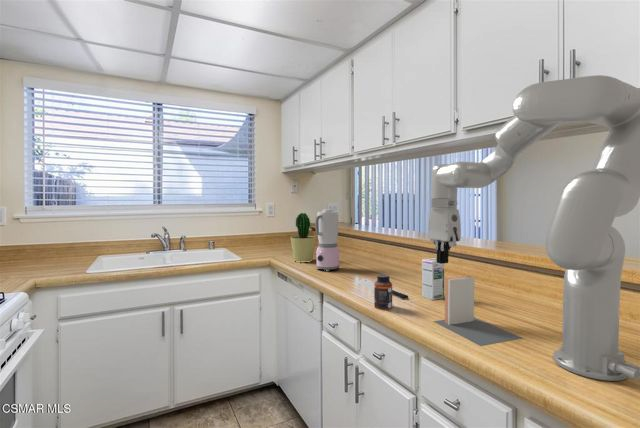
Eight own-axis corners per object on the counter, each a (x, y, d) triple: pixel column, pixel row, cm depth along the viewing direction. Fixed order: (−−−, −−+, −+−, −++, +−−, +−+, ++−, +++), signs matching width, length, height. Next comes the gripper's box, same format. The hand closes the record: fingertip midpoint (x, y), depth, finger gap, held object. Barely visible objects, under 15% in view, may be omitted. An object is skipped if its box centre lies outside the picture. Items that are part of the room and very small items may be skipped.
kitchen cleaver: (347, 281, 149) (366, 276, 153) (347, 285, 149) (366, 280, 153) (390, 300, 120) (412, 294, 124) (390, 305, 120) (412, 298, 125)
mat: (523, 340, 87) (523, 338, 87) (480, 348, 82) (480, 345, 82) (470, 317, 104) (470, 315, 104) (433, 323, 99) (433, 321, 99)
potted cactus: (317, 259, 210) (316, 211, 209) (314, 263, 195) (314, 212, 194) (293, 258, 212) (292, 211, 211) (288, 263, 196) (288, 212, 195)
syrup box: (432, 300, 122) (433, 261, 121) (421, 296, 127) (421, 258, 126) (444, 298, 124) (444, 259, 123) (432, 294, 129) (433, 257, 129)
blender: (326, 266, 187) (326, 209, 186) (344, 269, 179) (343, 209, 178) (307, 270, 175) (307, 209, 174) (325, 273, 167) (325, 210, 166)
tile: (473, 320, 99) (474, 277, 99) (449, 324, 96) (449, 280, 96) (469, 318, 101) (469, 276, 100) (444, 322, 98) (445, 278, 97)
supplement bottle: (395, 310, 111) (395, 277, 110) (378, 312, 109) (378, 277, 109) (387, 305, 116) (387, 273, 116) (371, 306, 115) (371, 274, 115)
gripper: (471, 205, 98) (469, 267, 99) (438, 203, 112) (436, 258, 113) (450, 205, 96) (449, 268, 97) (419, 203, 110) (417, 259, 111)
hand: (442, 262), depth 105 cm, fingers closed
